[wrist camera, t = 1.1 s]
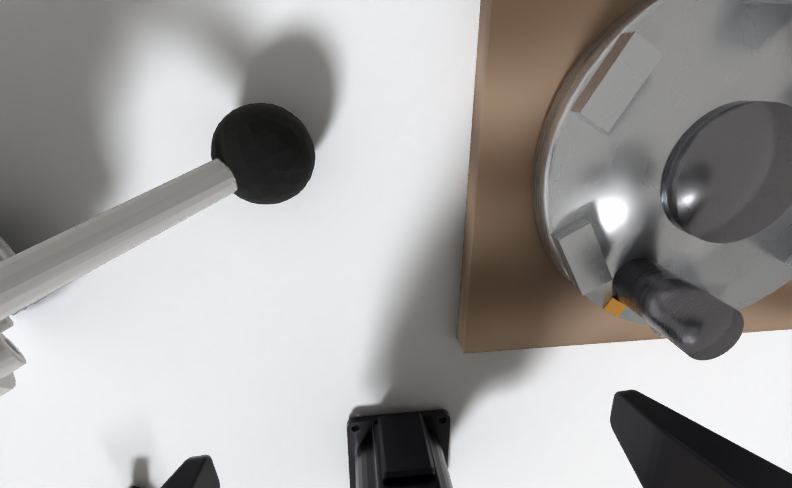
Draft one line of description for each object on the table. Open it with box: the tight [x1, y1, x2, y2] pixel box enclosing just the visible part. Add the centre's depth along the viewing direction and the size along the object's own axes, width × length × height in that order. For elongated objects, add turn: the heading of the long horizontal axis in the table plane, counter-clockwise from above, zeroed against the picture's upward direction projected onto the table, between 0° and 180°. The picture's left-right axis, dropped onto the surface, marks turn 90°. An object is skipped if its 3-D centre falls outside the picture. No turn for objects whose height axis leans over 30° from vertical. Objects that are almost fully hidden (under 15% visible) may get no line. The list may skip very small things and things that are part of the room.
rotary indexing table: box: [531, 0, 792, 360], centre depth 17 cm, size 16×16×6 cm
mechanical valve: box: [0, 103, 315, 396], centre depth 17 cm, size 10×18×15 cm
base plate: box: [457, 0, 792, 353], centre depth 21 cm, size 21×21×2 cm
